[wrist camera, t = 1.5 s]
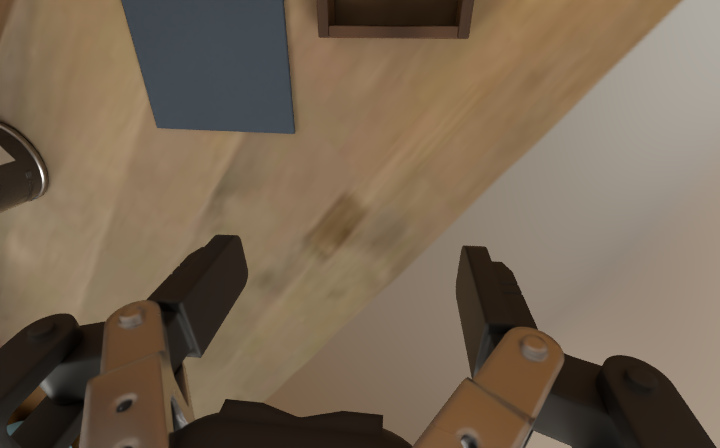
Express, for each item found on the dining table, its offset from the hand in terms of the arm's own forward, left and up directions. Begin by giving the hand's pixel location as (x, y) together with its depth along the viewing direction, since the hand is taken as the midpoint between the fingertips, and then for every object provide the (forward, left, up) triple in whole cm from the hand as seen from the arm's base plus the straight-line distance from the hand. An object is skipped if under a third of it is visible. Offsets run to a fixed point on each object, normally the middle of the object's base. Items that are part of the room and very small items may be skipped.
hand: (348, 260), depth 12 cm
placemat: (-18, 0, -21) cm, 28 cm away
